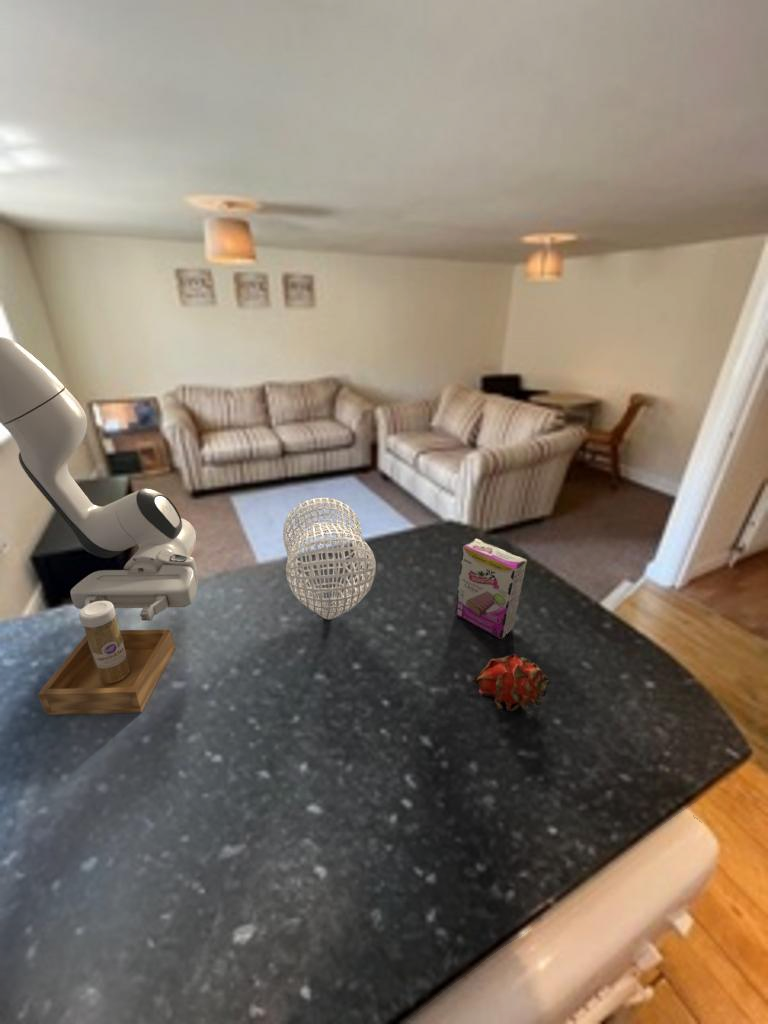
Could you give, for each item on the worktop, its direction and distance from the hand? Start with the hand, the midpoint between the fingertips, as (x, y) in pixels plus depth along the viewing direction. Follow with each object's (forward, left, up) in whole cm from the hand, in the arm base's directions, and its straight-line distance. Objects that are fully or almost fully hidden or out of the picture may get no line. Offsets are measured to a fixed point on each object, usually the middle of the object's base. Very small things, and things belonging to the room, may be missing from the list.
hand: (115, 617), depth 74 cm
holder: (0, -4, -9) cm, 10 cm away
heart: (+34, +12, -10) cm, 37 cm away
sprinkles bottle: (0, -4, -9) cm, 10 cm away
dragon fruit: (+64, -10, -10) cm, 65 cm away
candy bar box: (+65, +9, -10) cm, 66 cm away
